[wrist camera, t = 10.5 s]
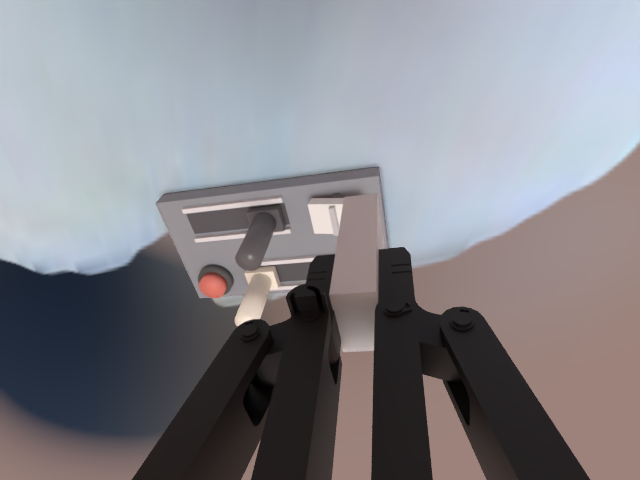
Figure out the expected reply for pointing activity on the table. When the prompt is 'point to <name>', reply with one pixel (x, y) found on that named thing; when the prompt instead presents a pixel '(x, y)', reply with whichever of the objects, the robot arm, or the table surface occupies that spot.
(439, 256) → the table surface
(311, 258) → the panel
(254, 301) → the cream tapered knob
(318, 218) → the rocker
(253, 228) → the black lever
